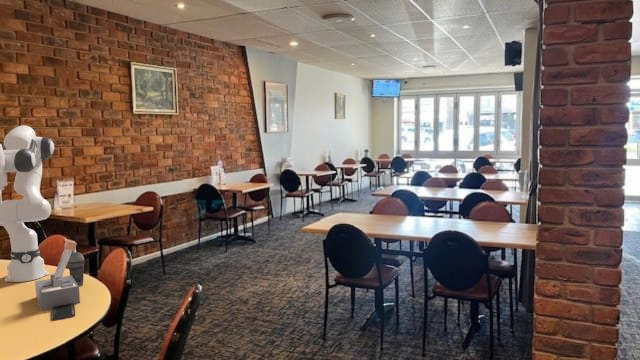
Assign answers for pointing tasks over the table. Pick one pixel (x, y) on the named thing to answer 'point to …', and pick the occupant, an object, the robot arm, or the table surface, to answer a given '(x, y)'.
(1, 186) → the robot arm
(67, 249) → the lever
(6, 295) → the table surface
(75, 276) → the beverage cup
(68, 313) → the phone
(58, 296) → the switch box
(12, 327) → the table surface
